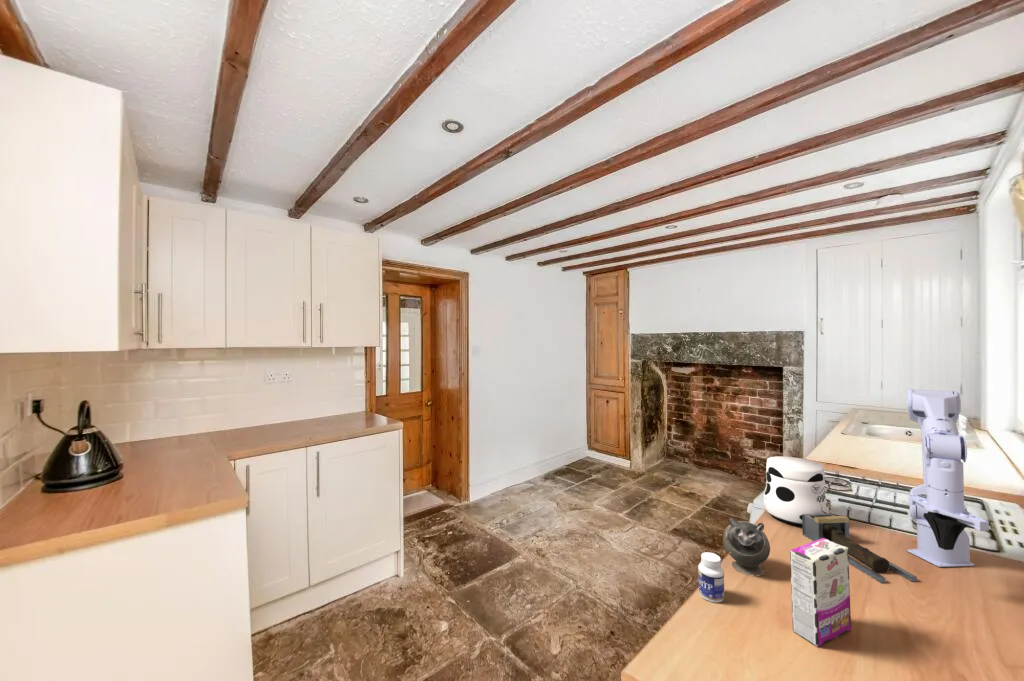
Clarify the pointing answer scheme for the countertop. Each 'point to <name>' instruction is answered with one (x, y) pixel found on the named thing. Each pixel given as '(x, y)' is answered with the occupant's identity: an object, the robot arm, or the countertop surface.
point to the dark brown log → (856, 549)
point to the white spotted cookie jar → (794, 488)
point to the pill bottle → (711, 578)
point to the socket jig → (814, 531)
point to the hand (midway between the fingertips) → (945, 548)
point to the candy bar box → (820, 591)
